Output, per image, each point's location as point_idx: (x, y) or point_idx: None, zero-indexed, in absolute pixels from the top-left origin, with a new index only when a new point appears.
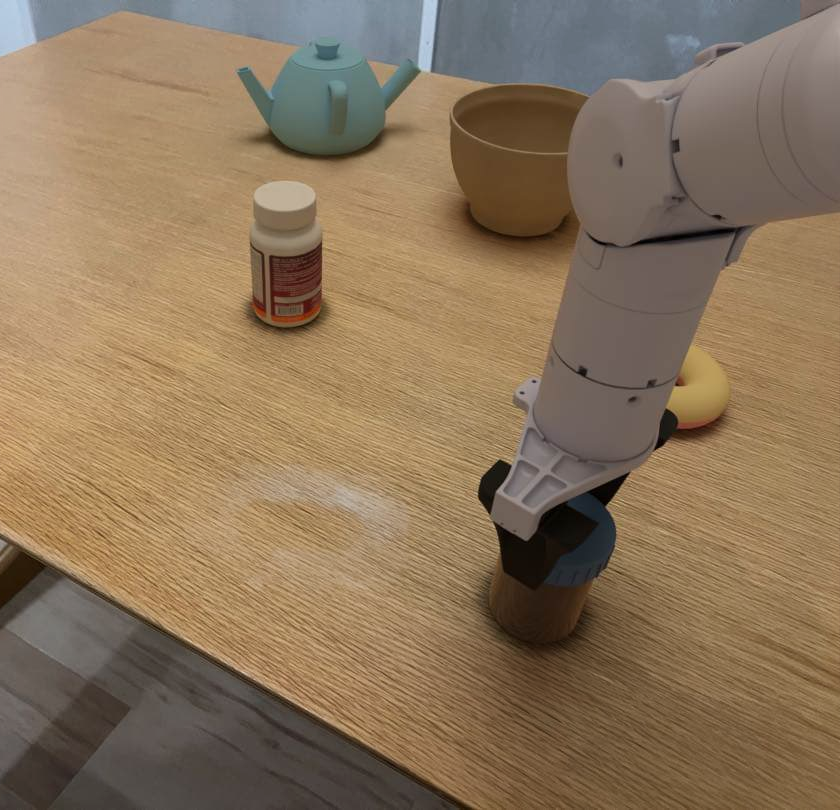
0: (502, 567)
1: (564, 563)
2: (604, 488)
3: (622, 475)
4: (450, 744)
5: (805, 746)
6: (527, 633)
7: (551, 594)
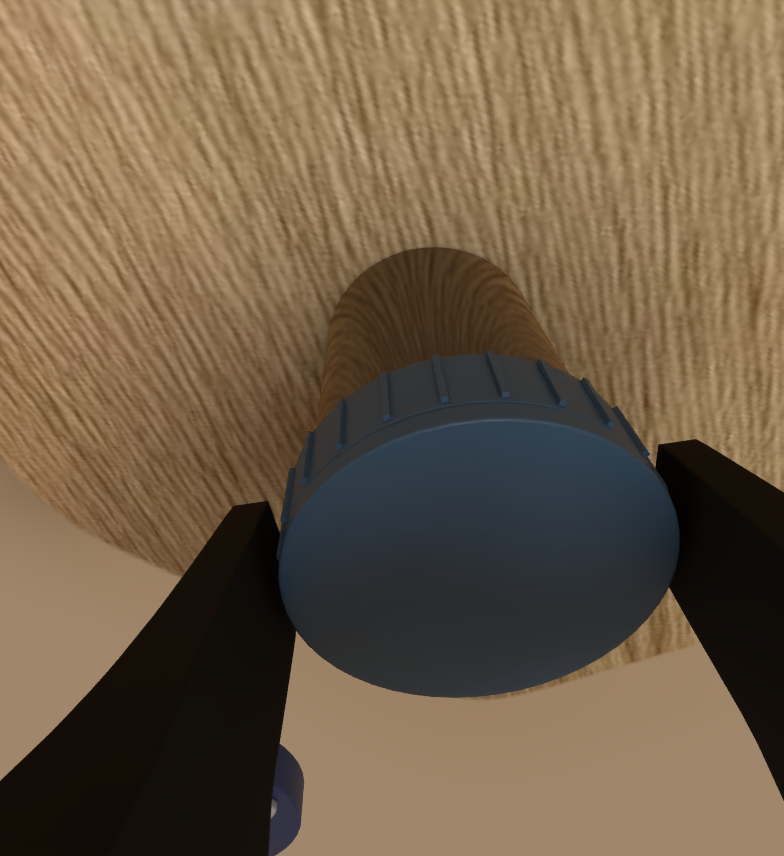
0: (329, 393)
1: (342, 669)
2: (709, 627)
3: (763, 744)
4: (64, 444)
5: None
6: None
7: None
